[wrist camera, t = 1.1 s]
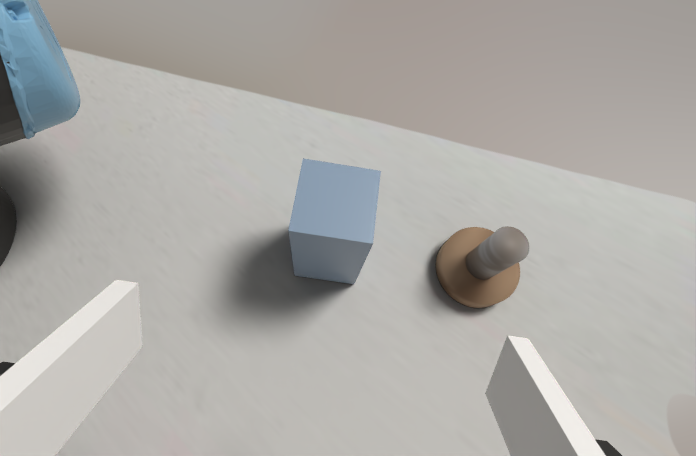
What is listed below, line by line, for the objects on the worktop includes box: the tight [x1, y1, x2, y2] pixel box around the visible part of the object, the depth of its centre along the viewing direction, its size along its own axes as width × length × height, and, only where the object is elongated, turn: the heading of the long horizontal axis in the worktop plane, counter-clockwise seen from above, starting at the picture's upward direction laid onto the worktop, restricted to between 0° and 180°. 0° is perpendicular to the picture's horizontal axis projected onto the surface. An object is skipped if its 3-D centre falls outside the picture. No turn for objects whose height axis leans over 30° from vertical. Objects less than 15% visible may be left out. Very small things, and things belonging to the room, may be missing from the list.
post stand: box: [436, 226, 529, 308], centre depth 35 cm, size 8×8×8 cm
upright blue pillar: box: [288, 159, 381, 284], centre depth 33 cm, size 6×6×12 cm
